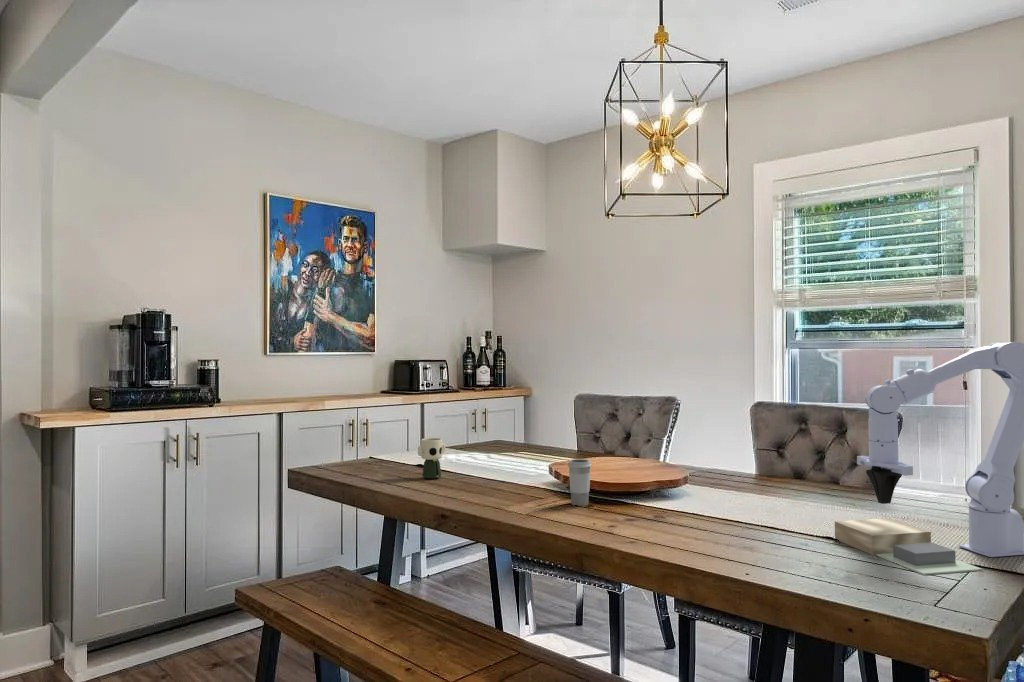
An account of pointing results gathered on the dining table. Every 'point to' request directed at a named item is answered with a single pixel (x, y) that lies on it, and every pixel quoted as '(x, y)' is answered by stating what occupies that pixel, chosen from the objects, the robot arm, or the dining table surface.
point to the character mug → (431, 456)
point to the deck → (879, 534)
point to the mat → (932, 566)
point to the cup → (579, 481)
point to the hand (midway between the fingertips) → (884, 503)
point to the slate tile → (924, 554)
